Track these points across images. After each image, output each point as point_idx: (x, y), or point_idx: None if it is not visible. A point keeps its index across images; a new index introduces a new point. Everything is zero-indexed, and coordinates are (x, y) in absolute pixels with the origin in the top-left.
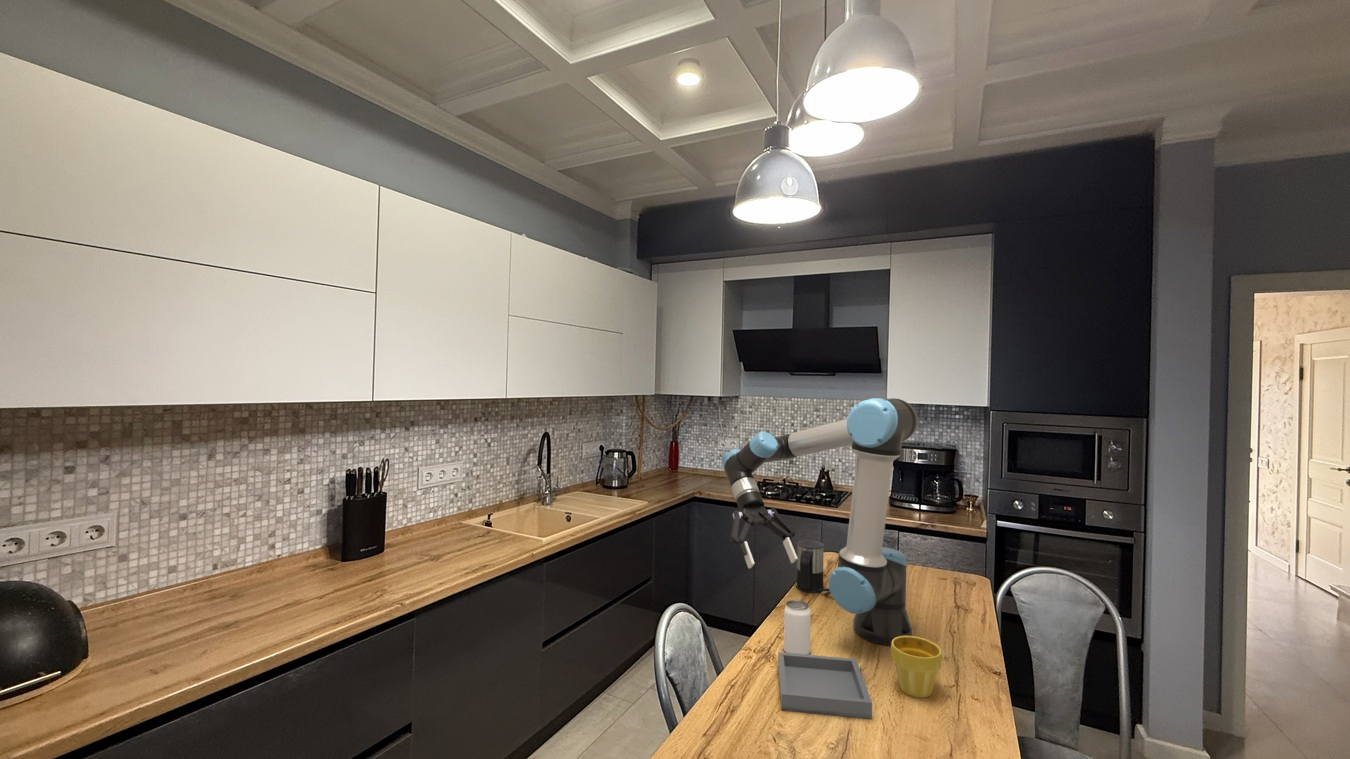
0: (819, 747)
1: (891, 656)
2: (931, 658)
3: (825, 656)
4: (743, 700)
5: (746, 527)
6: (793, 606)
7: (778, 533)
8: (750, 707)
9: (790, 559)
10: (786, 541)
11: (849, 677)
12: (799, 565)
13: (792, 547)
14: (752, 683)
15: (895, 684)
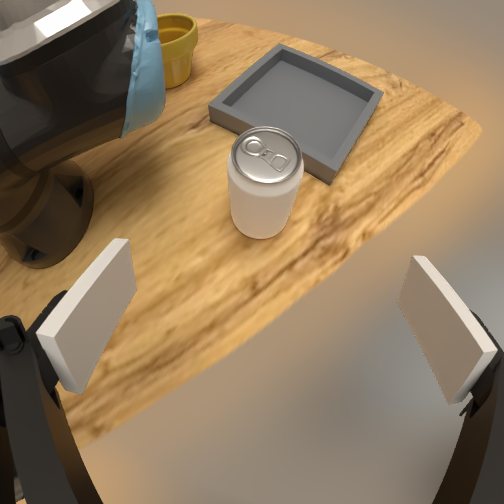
0: (361, 60)
1: (187, 53)
2: (174, 13)
3: (254, 126)
4: (416, 141)
5: (501, 477)
6: (282, 154)
7: (70, 443)
8: (411, 127)
9: (128, 296)
10: (73, 341)
11: (239, 106)
12: (15, 489)
13: (84, 278)
14: (393, 164)
15: (182, 88)
